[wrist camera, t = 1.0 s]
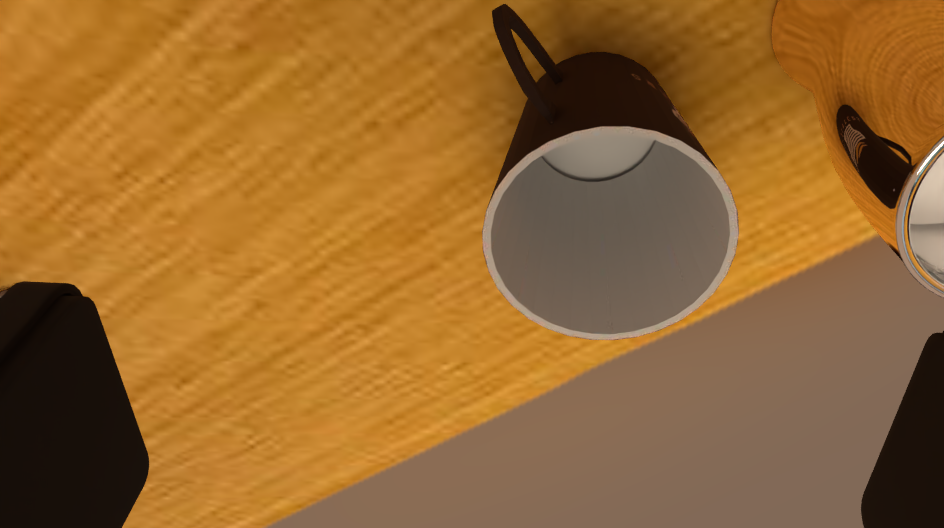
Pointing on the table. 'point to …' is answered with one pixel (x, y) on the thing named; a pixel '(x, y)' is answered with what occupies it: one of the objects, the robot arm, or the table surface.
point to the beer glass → (878, 111)
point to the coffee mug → (603, 200)
